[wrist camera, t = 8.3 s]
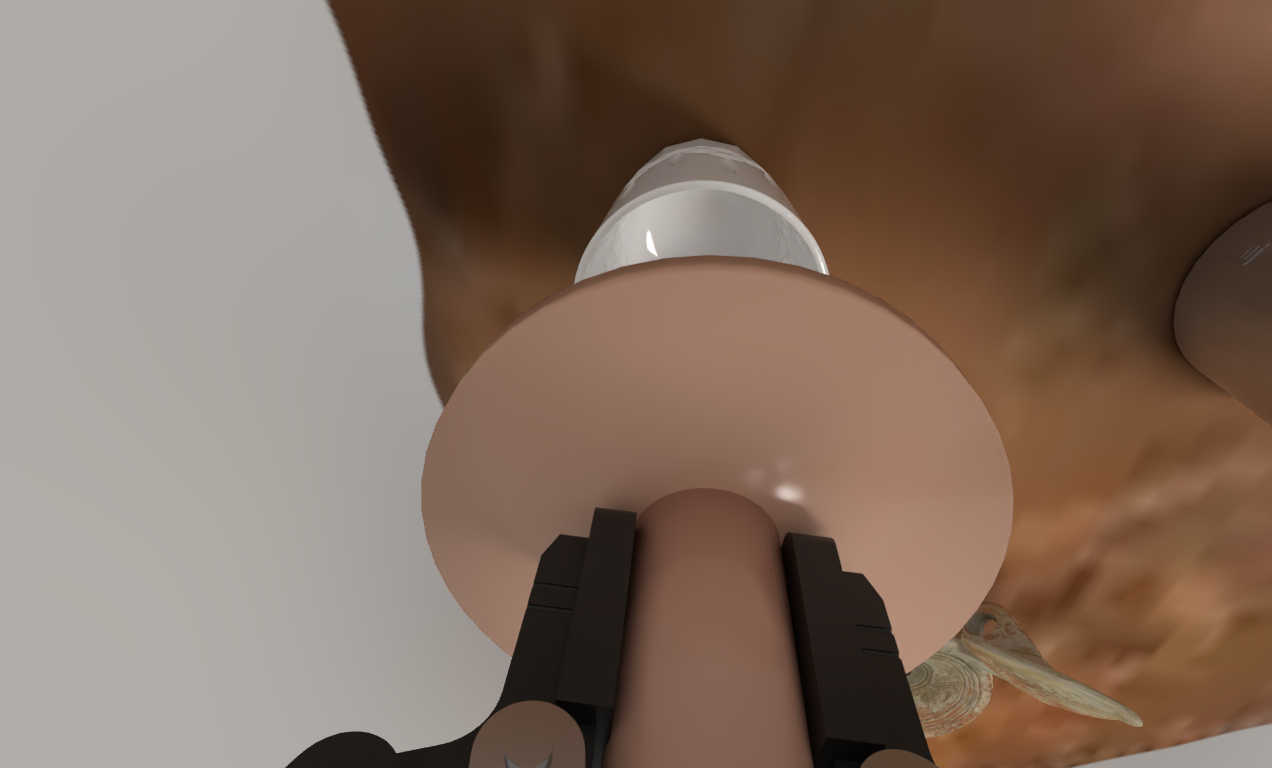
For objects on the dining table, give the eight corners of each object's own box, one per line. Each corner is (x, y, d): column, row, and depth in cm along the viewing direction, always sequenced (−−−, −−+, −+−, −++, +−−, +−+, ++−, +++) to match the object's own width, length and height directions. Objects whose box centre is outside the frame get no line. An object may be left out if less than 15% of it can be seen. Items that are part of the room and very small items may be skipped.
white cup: (718, 80, 26) (727, 118, 18) (827, 232, 29) (882, 332, 20) (573, 205, 29) (520, 291, 21) (684, 333, 32) (678, 457, 23)
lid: (1090, 565, 12) (1365, 966, 7) (660, 739, 16) (642, 1081, 11) (784, 105, 9) (901, 254, 4) (327, 466, 12) (77, 783, 7)
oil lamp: (1085, 592, 38) (1199, 765, 29) (813, 747, 47) (838, 913, 39) (987, 514, 36) (1079, 676, 27) (722, 692, 45) (727, 856, 37)
